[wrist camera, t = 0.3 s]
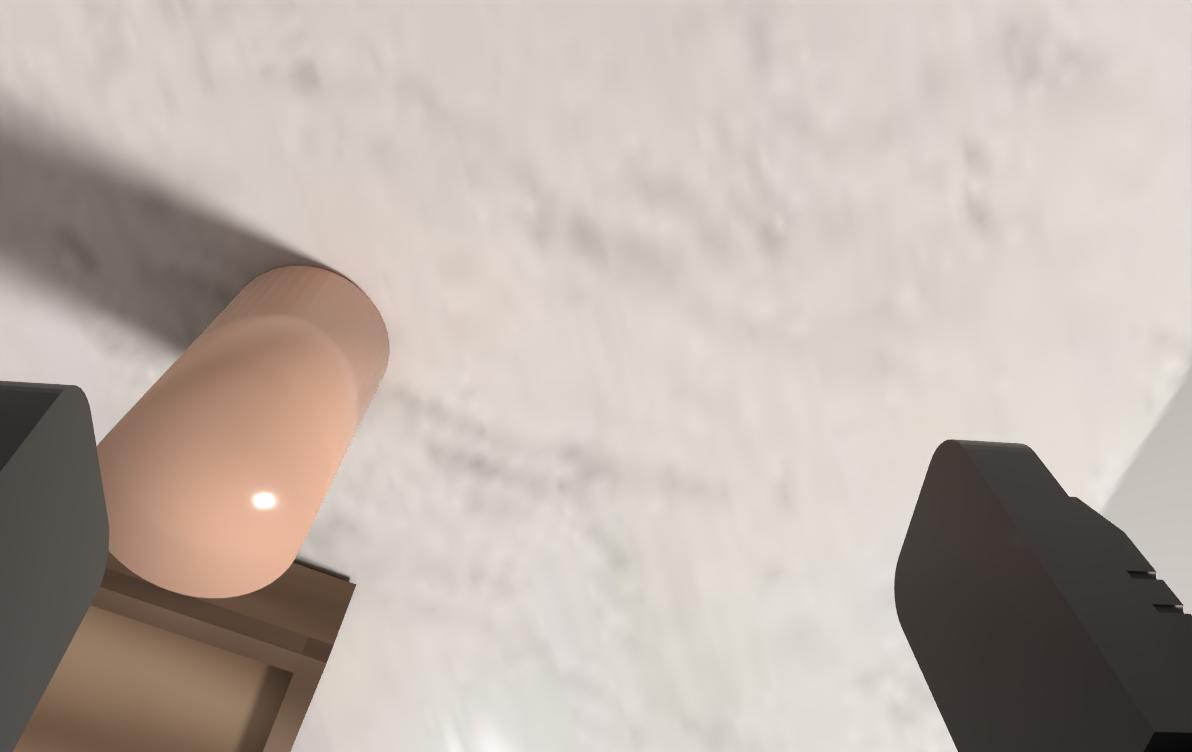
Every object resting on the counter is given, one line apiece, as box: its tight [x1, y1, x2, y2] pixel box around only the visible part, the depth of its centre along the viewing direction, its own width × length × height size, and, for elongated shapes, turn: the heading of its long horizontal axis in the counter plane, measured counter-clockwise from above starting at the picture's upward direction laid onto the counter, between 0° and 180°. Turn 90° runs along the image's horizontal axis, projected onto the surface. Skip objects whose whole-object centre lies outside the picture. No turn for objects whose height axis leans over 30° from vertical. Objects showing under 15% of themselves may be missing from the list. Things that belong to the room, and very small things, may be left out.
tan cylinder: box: [97, 266, 389, 598], centre depth 26 cm, size 5×5×9 cm
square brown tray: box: [13, 550, 356, 752], centre depth 34 cm, size 14×14×4 cm
